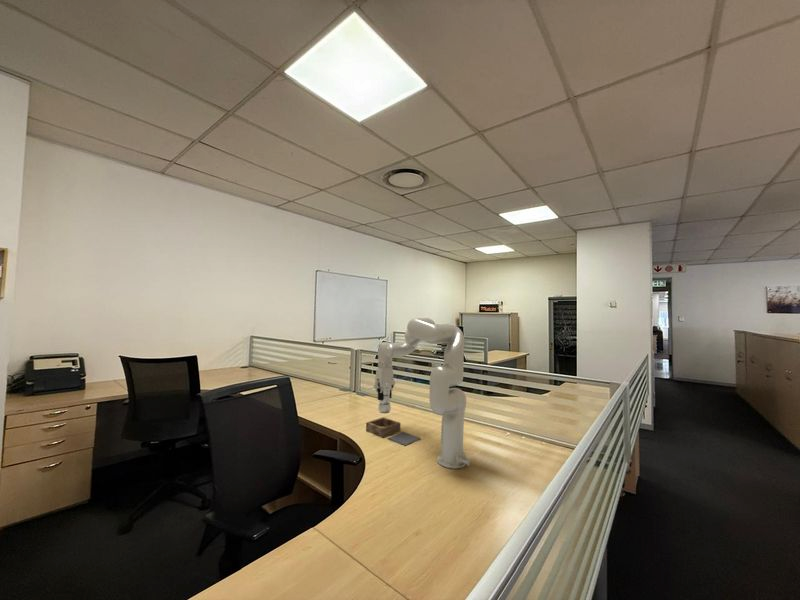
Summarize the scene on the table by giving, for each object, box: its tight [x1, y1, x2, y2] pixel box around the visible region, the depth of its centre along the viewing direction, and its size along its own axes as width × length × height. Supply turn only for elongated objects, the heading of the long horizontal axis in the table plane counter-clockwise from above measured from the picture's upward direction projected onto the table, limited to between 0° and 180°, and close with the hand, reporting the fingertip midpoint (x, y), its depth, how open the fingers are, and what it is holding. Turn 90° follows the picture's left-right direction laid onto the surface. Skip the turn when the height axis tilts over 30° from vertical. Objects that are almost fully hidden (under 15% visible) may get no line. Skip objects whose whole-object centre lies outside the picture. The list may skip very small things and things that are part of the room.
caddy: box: [365, 416, 401, 439], centre depth 174 cm, size 13×13×4 cm
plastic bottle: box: [378, 382, 392, 414], centre depth 175 cm, size 6×7×20 cm
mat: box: [386, 431, 422, 447], centre depth 164 cm, size 12×12×1 cm
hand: (384, 398), depth 174 cm, fingers closed on plastic bottle, 6 cm apart
